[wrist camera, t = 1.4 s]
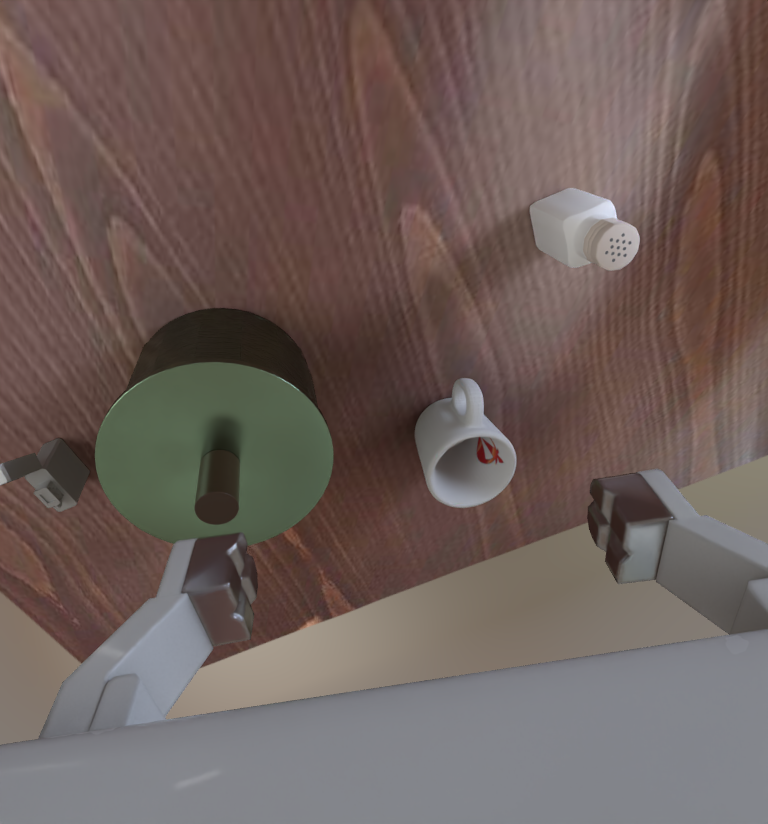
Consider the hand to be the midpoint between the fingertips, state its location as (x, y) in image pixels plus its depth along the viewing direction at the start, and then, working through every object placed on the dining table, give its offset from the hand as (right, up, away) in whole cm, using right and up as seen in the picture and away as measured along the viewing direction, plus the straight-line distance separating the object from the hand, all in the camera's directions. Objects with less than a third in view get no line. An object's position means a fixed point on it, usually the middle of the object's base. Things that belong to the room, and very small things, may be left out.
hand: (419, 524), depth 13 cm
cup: (+5, +3, +40) cm, 40 cm away
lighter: (-28, 0, +33) cm, 44 cm away
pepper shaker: (+13, +19, +32) cm, 39 cm away
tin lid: (-12, -1, +25) cm, 28 cm away
